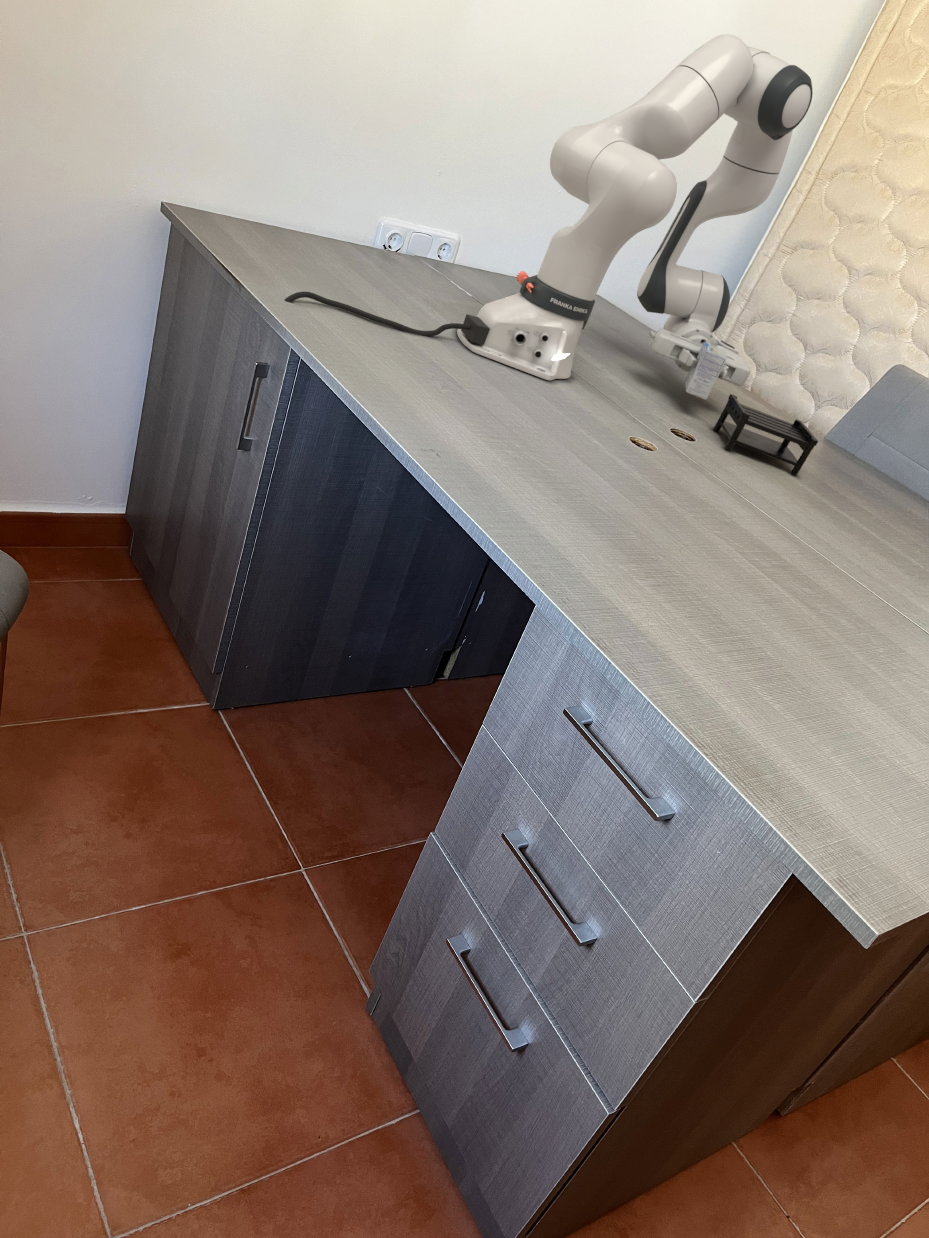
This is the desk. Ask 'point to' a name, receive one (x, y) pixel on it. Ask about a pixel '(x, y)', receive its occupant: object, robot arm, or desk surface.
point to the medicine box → (705, 371)
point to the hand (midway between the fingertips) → (708, 369)
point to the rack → (768, 424)
